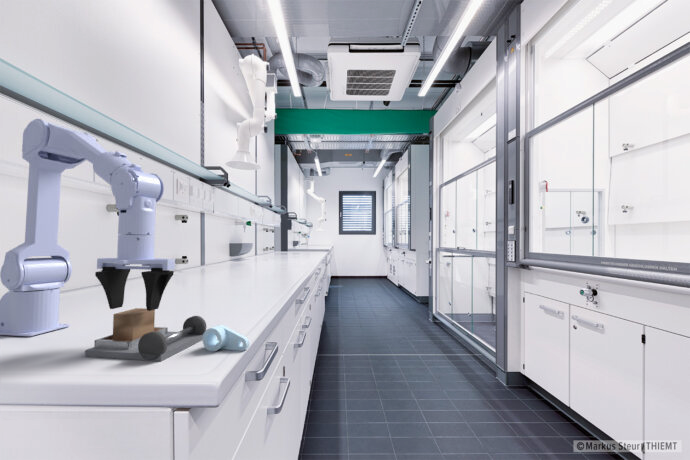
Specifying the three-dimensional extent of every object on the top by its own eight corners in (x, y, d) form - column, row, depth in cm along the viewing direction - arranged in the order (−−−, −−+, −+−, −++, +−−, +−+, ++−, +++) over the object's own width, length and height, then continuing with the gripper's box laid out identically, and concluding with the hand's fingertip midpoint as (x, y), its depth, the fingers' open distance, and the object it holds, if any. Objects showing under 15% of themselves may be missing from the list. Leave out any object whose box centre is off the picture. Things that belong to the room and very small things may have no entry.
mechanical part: (200, 348, 55) (204, 325, 55) (210, 343, 58) (214, 322, 58) (238, 360, 53) (242, 337, 53) (247, 355, 55) (250, 333, 55)
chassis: (85, 356, 52) (86, 329, 52) (142, 335, 64) (142, 313, 64) (162, 361, 50) (162, 333, 50) (206, 338, 62) (206, 316, 62)
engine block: (112, 342, 55) (113, 314, 55) (135, 334, 60) (136, 308, 60) (132, 343, 55) (133, 314, 55) (154, 335, 60) (154, 308, 60)
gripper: (82, 234, 55) (78, 311, 55) (155, 234, 53) (153, 315, 52) (116, 235, 62) (114, 303, 62) (183, 235, 60) (181, 306, 59)
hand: (134, 308), depth 57 cm, fingers open, 7 cm apart
